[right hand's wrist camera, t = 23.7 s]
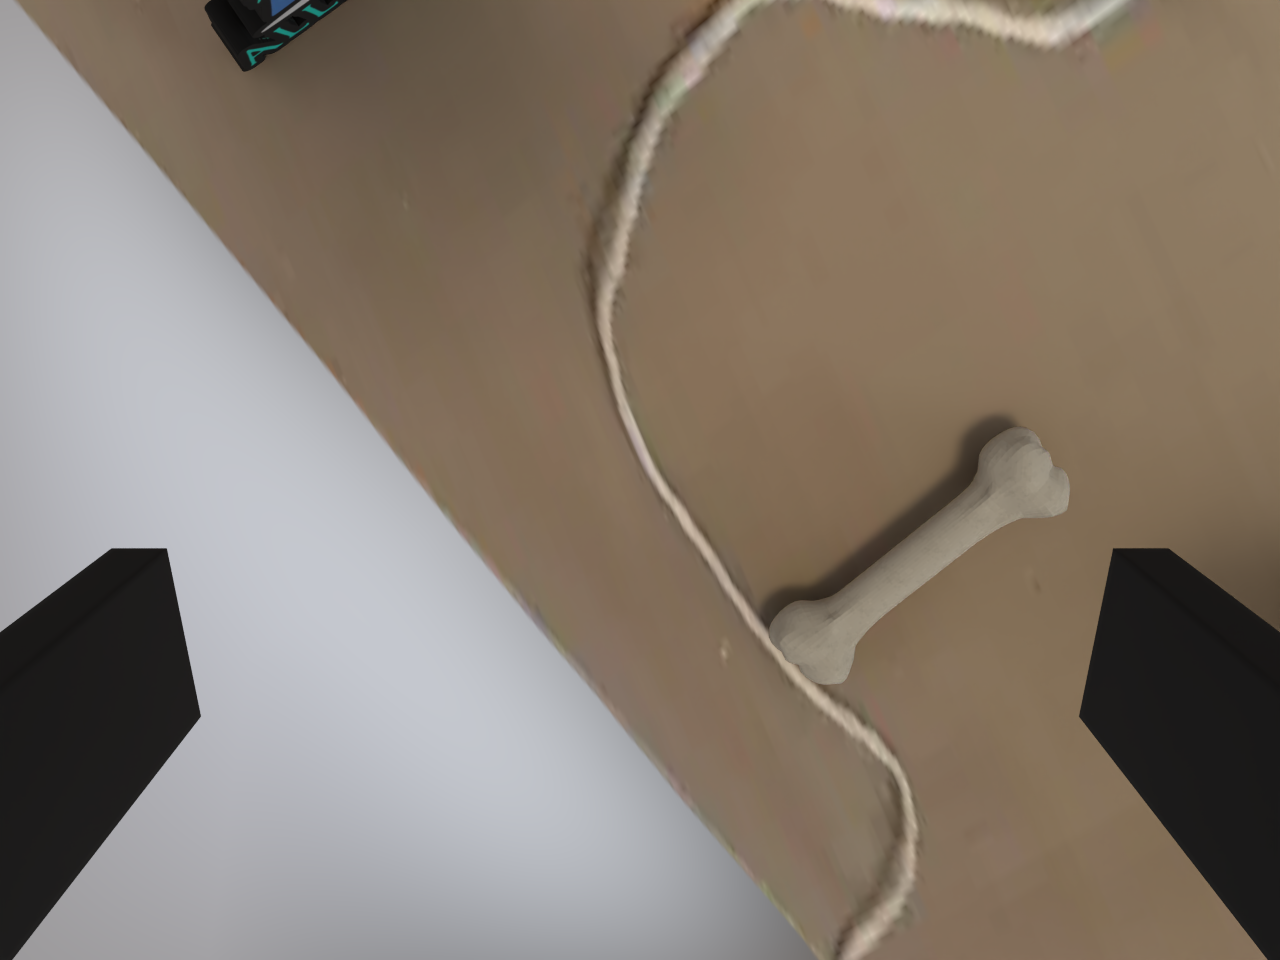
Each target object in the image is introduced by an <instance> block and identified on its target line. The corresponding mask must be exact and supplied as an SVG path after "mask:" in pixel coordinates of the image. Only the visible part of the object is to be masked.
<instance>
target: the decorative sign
mask: <svg viewBox="0 0 1280 960" xmlns="http://www.w3.org/2000/svg"><path fill="white" fill-rule="evenodd" d="M345 1H346V0H211V1H209V2H208V3H207V4H206V6H205V11H206V13H207V14H208V16H209V19H210V21H211V22H212V24H211V26H212V27H213V29H214V30H215V32H216V33H217V35H218V36H219V37H220V39H221V40H222V42H223V43H224V45H225V46H226V48H227V49H228V50H229V52H230V53H231V55H232V56H233V58H234V59H235V61H236V62H237V63H238V65H239V66H240V68H241V69H242V71H248V70H251V69H253V68H254V67H256V66H257V65H258V64H260V63H261V62H262V61H263V60H264V59H265V55H266V54H271V53H274V52H276V51H278V50H279V49H281V48H282V47H284V46H285V45H286V44H287V43H289V42H290V41H291V40H293V39H294V38H296V37H297V36H299V35H300V34H301V33H303V32H304V31H306V30H307V29H308V28H310V27H311V26H312V25H313V24H314V23H315V22H317V21H318V20H320V19H322V18H323V17H325V16H326V15H327V14H329V13H330V12H331V11H333V10H334V9H336V8H337V7H338V6H340V5H341V4H342V3H343V2H345Z"/></svg>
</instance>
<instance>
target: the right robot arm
mask: <svg viewBox="0 0 1280 960" xmlns="http://www.w3.org/2000/svg"><path fill="white" fill-rule="evenodd" d="M200 717H201V714H200V710H199V705H198V700H197V695H196V690H195V685H194V680H193V675H192V670H191V666H190V661H189V656H188V651H187V646H186V641H185V636H184V631H183V626H182V621H181V616H180V611H179V606H178V601H177V596H176V591H175V587H174V582H173V577H172V572H171V567H170V562H169V557H168V552H167V549H166V548H112V549H110V550H109V551H108V552H106V553H105V554H104V555H102V556H101V557H100V558H98V559H97V560H96V561H94V562H93V563H92V564H90V565H89V566H88V567H86V568H85V569H84V570H82V571H81V572H80V573H78V574H77V575H76V576H74V577H73V578H72V579H70V580H69V581H68V582H66V583H65V584H64V585H62V586H61V587H60V588H58V589H57V590H56V591H55V592H53V593H52V594H50V595H49V596H48V597H47V598H45V599H44V600H43V601H41V602H40V603H39V604H37V605H36V606H35V607H33V608H32V609H31V610H29V611H28V612H27V613H25V614H24V615H23V616H21V617H20V618H19V619H17V620H16V621H15V622H13V623H12V624H11V625H9V626H8V627H7V628H5V629H4V630H3V631H1V632H0V960H12V959H13V958H14V957H15V956H16V954H17V953H18V952H19V950H20V949H21V948H22V947H23V945H24V944H25V943H26V941H27V940H28V939H29V938H30V936H31V935H32V934H33V932H34V931H35V930H36V928H37V927H38V926H39V925H40V923H41V922H42V921H43V919H44V918H45V917H46V916H47V914H48V913H49V912H50V910H51V909H52V908H53V907H54V905H55V904H56V903H57V901H58V900H59V899H60V897H61V896H62V895H63V894H64V892H65V891H66V890H67V889H68V887H69V886H70V885H71V883H72V882H73V881H74V879H75V878H76V877H77V876H78V874H79V873H80V872H81V870H82V869H83V868H84V867H85V865H86V864H87V863H88V861H89V860H90V859H91V858H92V856H93V855H94V854H95V852H96V851H97V850H98V848H99V847H100V846H101V845H102V843H103V842H104V841H105V840H106V838H107V837H108V836H109V834H110V833H111V832H112V830H113V829H114V828H115V827H116V825H117V824H118V823H119V821H120V820H121V819H122V818H123V816H124V815H125V814H126V812H127V811H128V810H129V809H130V807H131V806H132V805H133V803H134V802H135V801H136V800H137V798H138V797H139V796H140V794H141V793H142V792H143V790H144V789H145V788H146V787H147V785H148V784H149V783H150V781H151V780H152V779H153V778H154V776H155V775H156V774H157V772H158V771H159V770H160V769H161V767H162V766H163V765H164V763H165V762H166V761H167V759H168V758H169V757H170V756H171V754H172V753H173V752H174V750H175V749H176V748H177V747H178V745H179V744H180V743H181V742H182V740H183V739H184V738H185V736H186V735H187V734H188V732H189V731H190V730H191V729H192V727H193V726H194V725H195V723H196V722H197V721H198V719H199V718H200ZM1079 717H1080V718H1081V720H1082V721H1083V722H1084V723H1085V725H1086V726H1087V727H1088V729H1089V730H1090V731H1091V732H1092V734H1093V735H1094V736H1095V738H1096V739H1097V740H1098V742H1099V743H1100V744H1101V745H1102V747H1103V748H1104V749H1105V751H1106V752H1107V753H1108V754H1109V756H1110V757H1111V758H1112V760H1113V761H1114V762H1115V763H1116V765H1117V766H1118V767H1119V769H1120V770H1121V771H1122V772H1123V774H1124V775H1125V776H1126V778H1127V779H1128V780H1129V781H1130V783H1131V784H1132V785H1133V787H1134V788H1135V789H1136V791H1137V792H1138V793H1139V794H1140V796H1141V797H1142V798H1143V800H1144V801H1145V802H1146V803H1147V805H1148V806H1149V807H1150V809H1151V810H1152V811H1153V812H1154V814H1155V815H1156V816H1157V818H1158V819H1159V820H1160V821H1161V823H1162V824H1163V825H1164V827H1165V828H1166V829H1167V830H1168V832H1169V833H1170V834H1171V836H1172V837H1173V838H1174V840H1175V841H1176V842H1177V843H1178V845H1179V846H1180V847H1181V849H1182V850H1183V851H1184V852H1185V854H1186V855H1187V856H1188V858H1189V859H1190V860H1191V861H1192V863H1193V864H1194V865H1195V867H1196V868H1197V869H1198V870H1199V872H1200V873H1201V874H1202V876H1203V877H1204V878H1205V879H1206V881H1207V882H1208V883H1209V885H1210V886H1211V887H1212V889H1213V890H1214V891H1215V892H1216V894H1217V895H1218V896H1219V898H1220V899H1221V900H1222V901H1223V903H1224V904H1225V905H1226V907H1227V908H1228V909H1229V910H1230V912H1231V913H1232V914H1233V916H1234V917H1235V918H1236V919H1237V921H1238V922H1239V923H1240V925H1241V926H1242V927H1243V928H1244V930H1245V931H1246V932H1247V934H1248V935H1249V936H1250V938H1251V939H1252V940H1253V941H1254V943H1255V944H1256V945H1257V947H1258V948H1259V949H1260V950H1261V952H1262V953H1263V954H1264V956H1265V957H1266V958H1267V959H1268V960H1280V632H1279V631H1277V630H1276V629H1275V628H1273V627H1272V626H1271V625H1269V624H1268V623H1267V622H1265V621H1264V620H1263V619H1261V618H1260V617H1259V616H1257V615H1256V614H1255V613H1253V612H1252V611H1251V610H1249V609H1248V608H1247V607H1245V606H1244V605H1243V604H1242V603H1240V602H1239V601H1238V600H1236V599H1235V598H1234V597H1232V596H1231V595H1230V594H1228V593H1227V592H1226V591H1224V590H1223V589H1222V588H1220V587H1219V586H1218V585H1216V584H1215V583H1214V582H1212V581H1211V580H1210V579H1208V578H1207V577H1206V576H1204V575H1203V574H1202V573H1200V572H1199V571H1198V570H1196V569H1195V568H1194V567H1192V566H1191V565H1190V564H1188V563H1187V562H1186V561H1184V560H1183V559H1182V558H1180V557H1179V556H1178V555H1176V554H1175V553H1174V552H1172V551H1171V550H1170V549H1169V548H1113V552H1112V557H1111V562H1110V567H1109V572H1108V577H1107V582H1106V587H1105V591H1104V596H1103V601H1102V606H1101V611H1100V616H1099V621H1098V626H1097V631H1096V636H1095V641H1094V646H1093V651H1092V655H1091V660H1090V665H1089V670H1088V675H1087V680H1086V685H1085V690H1084V695H1083V700H1082V705H1081V710H1080V714H1079Z"/></svg>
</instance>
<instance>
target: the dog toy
mask: <svg viewBox="0 0 1280 960" xmlns="http://www.w3.org/2000/svg"><path fill="white" fill-rule="evenodd" d="M1069 494H1070V485H1069V480H1068V477H1067V474H1066V473H1065V472H1064V470H1063V469H1062V468H1059V467H1056V466H1054V465H1053V464H1052V461H1051V457H1050V454H1049V452H1048V451H1047V450H1046V449H1044V448H1043V447H1042V445H1041V442H1040V439H1039V438H1038V437H1037V435H1036V434H1035V433H1034V432H1033V431H1031V430H1029V429H1027V428H1026V427H1018V426H1016V427H1013V428H1009V429H1007V430H1005V431H1003V432H1001V433H1000V434H998V435H996V436H995V437H994V438H992V439H991V440H990V441H989V442H988V443H987V444H986V445H985V446H984V447H983V449H982V450H981V452H980V454H979V460H978V470H977V473H976V475H975V477H974V479H973V481H972V482H971V484H970V485H969V486H968V487H967V488H966V489H965V490H964V491H963V492H962V493H961V494H960V495H958V496H957V497H956V498H955V499H953V500H952V501H951V502H950V503H948V504H947V505H946V506H945V507H943V508H942V509H941V510H940V511H938V512H937V513H936V514H935V515H933V516H932V517H931V518H930V519H929V520H927V521H926V522H925V523H924V524H922V525H921V526H920V527H919V528H917V529H916V530H915V531H914V532H912V533H911V534H910V535H909V536H907V537H906V538H905V539H904V540H902V541H901V542H900V543H899V544H897V545H896V546H895V547H894V548H892V549H891V550H890V551H889V552H887V553H886V554H885V555H884V556H882V557H881V558H880V559H879V560H877V561H876V562H875V563H874V564H872V565H871V566H870V567H869V568H868V569H866V570H865V571H864V572H863V573H861V574H860V575H859V576H858V577H856V578H855V579H854V580H853V581H851V582H850V583H849V584H848V585H846V586H845V587H844V588H843V589H841V590H840V591H838V592H837V593H836V594H834V595H832V596H830V597H827V598H823V599H820V600H814V601H810V600H799V601H795V602H792V603H790V604H789V605H787V606H786V607H784V608H783V609H782V610H781V611H780V612H779V613H778V614H777V615H776V617H775V618H774V619H773V621H772V623H771V625H770V628H769V638H770V640H771V642H772V644H773V645H774V646H775V647H776V648H777V649H779V650H780V651H782V653H783V655H784V658H785V660H787V661H788V662H790V663H793V664H797V665H799V668H800V671H801V673H803V674H804V676H805V677H807V678H808V679H810V680H812V681H813V682H816V683H819V684H828V685H829V684H841V683H843V682H844V681H845V679H846V678H847V676H848V674H849V671H850V669H851V666H852V663H853V659H854V653H855V646H856V644H857V643H858V641H859V640H860V639H861V638H862V636H863V635H864V634H865V633H866V632H867V631H868V630H869V629H870V628H871V627H872V626H873V625H874V624H875V623H876V622H877V621H878V620H879V619H880V618H881V617H883V616H884V615H885V614H886V613H887V612H889V611H890V610H891V609H893V608H894V607H895V606H896V605H898V604H899V603H900V602H901V601H903V600H904V599H905V598H906V597H908V596H909V595H910V594H912V593H913V592H914V591H915V590H917V589H918V588H919V587H921V586H922V585H923V584H924V583H926V582H927V581H928V580H930V579H931V578H932V577H933V576H935V575H936V574H937V573H938V572H940V571H941V570H942V569H944V568H945V567H946V566H947V565H949V564H950V563H951V562H953V561H954V560H955V559H956V558H958V557H959V556H960V555H962V554H963V553H964V552H965V551H967V550H968V549H969V548H971V547H972V546H973V545H975V544H976V543H977V542H979V541H980V540H982V539H983V538H985V537H986V536H988V535H989V534H991V533H992V532H994V531H996V530H997V529H999V528H1001V527H1003V526H1005V525H1007V524H1009V523H1011V522H1013V521H1016V520H1018V519H1021V518H1047V517H1053V516H1056V515H1060V514H1062V513H1063V512H1065V511H1066V510H1067V507H1068V500H1069Z"/></svg>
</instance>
